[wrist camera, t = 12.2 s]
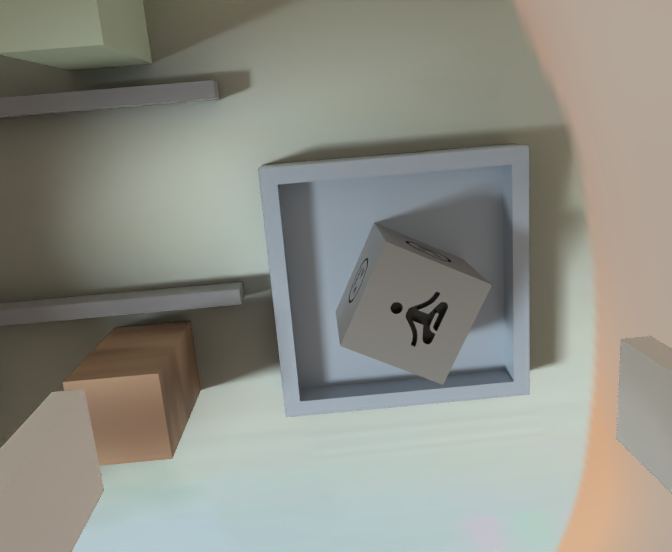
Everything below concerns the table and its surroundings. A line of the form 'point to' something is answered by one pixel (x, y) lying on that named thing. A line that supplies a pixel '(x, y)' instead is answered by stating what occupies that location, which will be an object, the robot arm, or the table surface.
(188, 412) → the walnut block
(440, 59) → the table surface
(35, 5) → the sage block
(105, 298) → the grey bar frame
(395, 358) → the dice cube
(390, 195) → the slate tray
